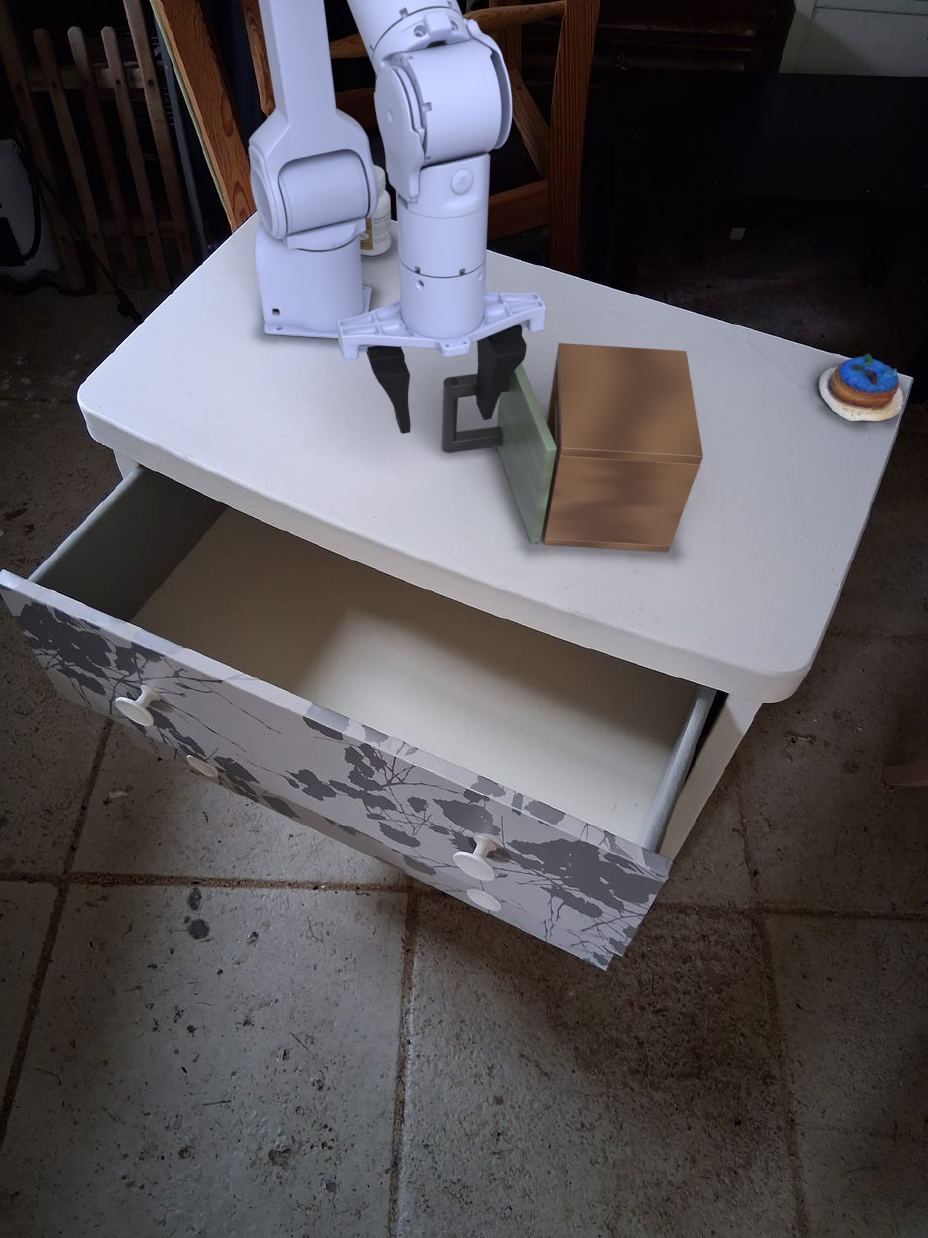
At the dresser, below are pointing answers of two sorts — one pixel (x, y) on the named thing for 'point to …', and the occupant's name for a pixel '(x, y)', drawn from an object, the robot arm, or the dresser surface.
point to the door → (508, 442)
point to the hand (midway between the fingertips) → (442, 418)
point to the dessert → (862, 389)
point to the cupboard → (620, 447)
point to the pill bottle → (378, 222)
